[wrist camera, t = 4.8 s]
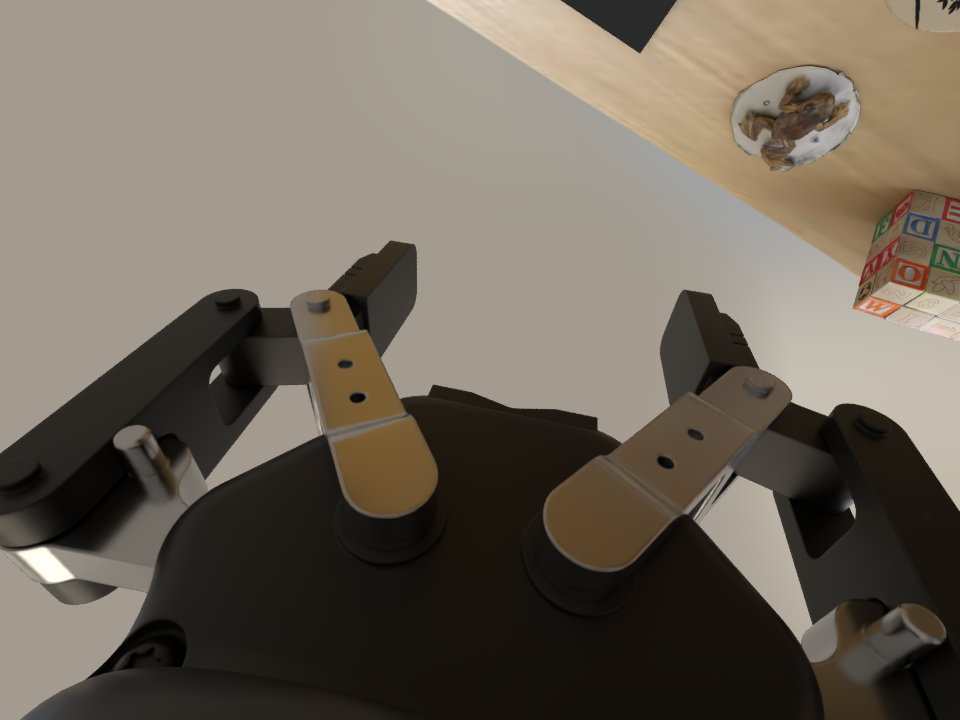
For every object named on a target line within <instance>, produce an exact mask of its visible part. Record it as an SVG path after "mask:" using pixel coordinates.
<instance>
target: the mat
mask: <svg viewBox="0 0 960 720" xmlns="http://www.w3.org/2000/svg"><path fill="white" fill-rule="evenodd" d="M561 1H563V2H564V3H566V4H567V5H569V6H570V7H572V8H573V9H575V10H576V11H578V12H579V13H581V14H582V15H584V16H585V17H587V18H588V19H590V20H591V21H593V22H594V23H595V24H597V25H598V26H600V27H601V28H603V29H604V30H606V31H607V32H609V33H610V34H612V35H613V36H615V37H616V38H618V39H619V40H621V41H622V42H624V43H625V44H627V45H628V46H630V47H631V48H633V49H634V50H636V51H637V52H639V53H641V51H642V50H643V48H644V47H645V45H646V44H647V42H648V41H649V40H650V38H651V37H652V35H653V34H654V32H655V31H656V29H657V28H658V27H659V25H660V24H661V22H662V21H663V19H664V18H665V16H666V15H667V14H668V12H669V11H670V9H671V8H672V6H673V5H674V3H675V2H676V1H677V0H561Z"/></svg>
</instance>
